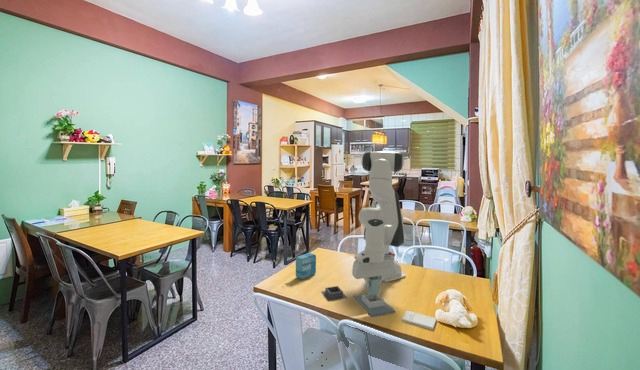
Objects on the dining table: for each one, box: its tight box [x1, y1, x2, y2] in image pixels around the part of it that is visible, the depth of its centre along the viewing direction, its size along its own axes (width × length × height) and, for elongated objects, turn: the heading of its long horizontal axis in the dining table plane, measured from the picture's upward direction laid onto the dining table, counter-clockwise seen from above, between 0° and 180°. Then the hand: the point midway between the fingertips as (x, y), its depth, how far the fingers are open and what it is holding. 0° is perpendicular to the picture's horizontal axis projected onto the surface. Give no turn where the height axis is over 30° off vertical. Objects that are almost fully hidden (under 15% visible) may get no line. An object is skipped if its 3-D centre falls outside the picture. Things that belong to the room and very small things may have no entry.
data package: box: [295, 252, 317, 280], centre depth 165 cm, size 12×4×12 cm, turn 138°
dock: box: [352, 292, 396, 318], centre depth 134 cm, size 12×18×4 cm, turn 19°
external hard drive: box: [401, 310, 438, 331], centre depth 122 cm, size 2×8×12 cm
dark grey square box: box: [321, 285, 348, 302], centre depth 141 cm, size 10×10×4 cm
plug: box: [366, 276, 381, 296], centre depth 133 cm, size 4×4×8 cm
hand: (373, 285), depth 133 cm, fingers closed on plug, 4 cm apart
